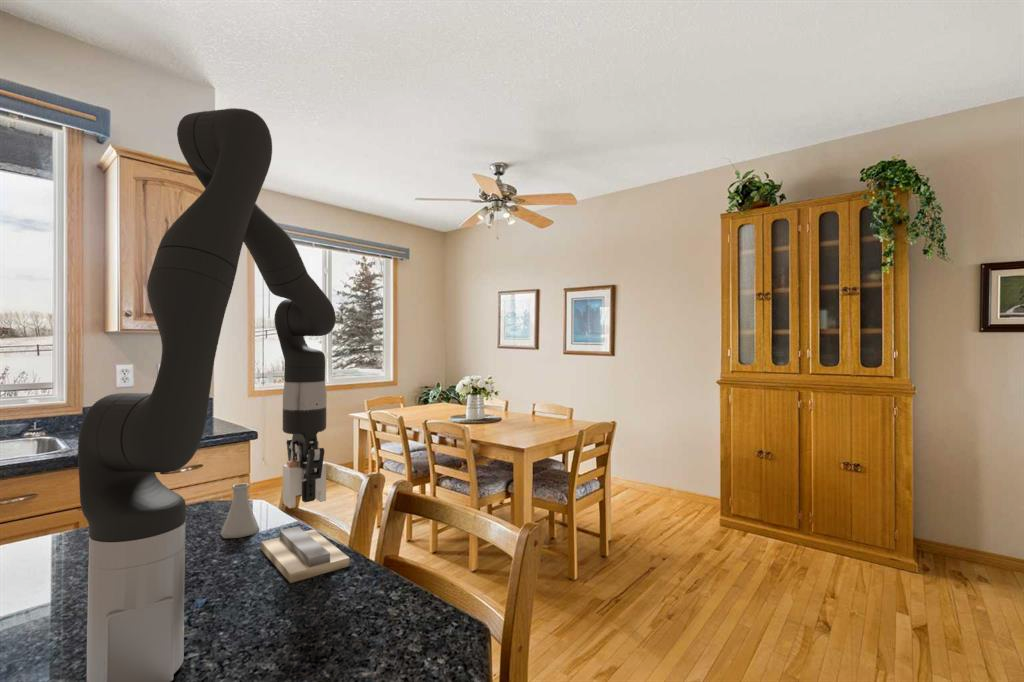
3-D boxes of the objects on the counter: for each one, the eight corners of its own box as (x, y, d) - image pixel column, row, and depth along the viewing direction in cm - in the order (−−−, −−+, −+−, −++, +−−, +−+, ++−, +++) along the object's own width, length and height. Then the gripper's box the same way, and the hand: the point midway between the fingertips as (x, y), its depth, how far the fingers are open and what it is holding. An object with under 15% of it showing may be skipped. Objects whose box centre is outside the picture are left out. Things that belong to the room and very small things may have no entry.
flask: (221, 529, 106) (222, 482, 106) (260, 524, 109) (260, 479, 109) (218, 542, 99) (218, 491, 99) (258, 536, 102) (259, 487, 102)
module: (326, 500, 93) (326, 459, 93) (289, 508, 89) (289, 464, 89) (318, 495, 96) (318, 455, 96) (282, 502, 92) (282, 460, 92)
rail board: (349, 566, 88) (349, 549, 88) (290, 583, 82) (290, 564, 82) (313, 536, 102) (313, 522, 102) (260, 549, 96) (261, 533, 96)
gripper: (339, 407, 89) (339, 503, 89) (312, 400, 100) (311, 486, 100) (296, 411, 85) (295, 512, 84) (272, 403, 95) (271, 493, 95)
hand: (304, 497), depth 92 cm, fingers closed on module, 4 cm apart
